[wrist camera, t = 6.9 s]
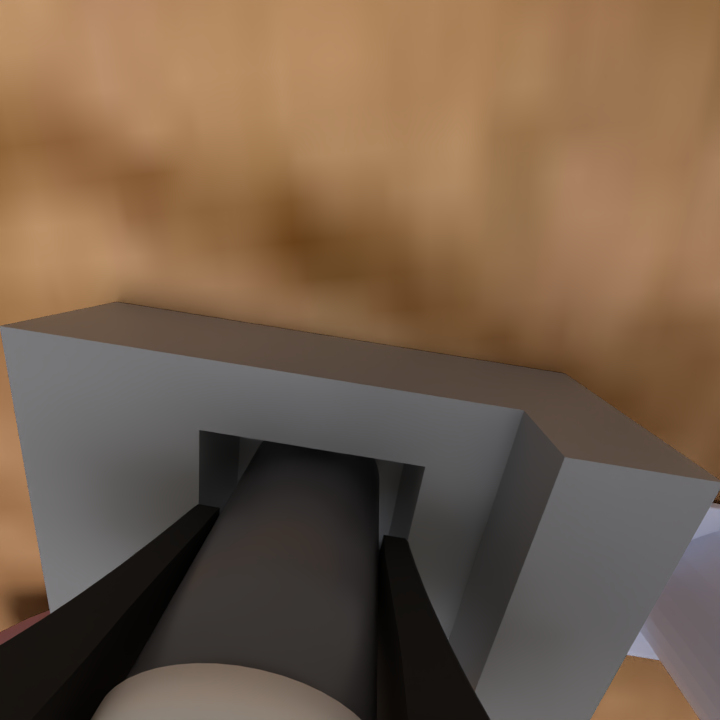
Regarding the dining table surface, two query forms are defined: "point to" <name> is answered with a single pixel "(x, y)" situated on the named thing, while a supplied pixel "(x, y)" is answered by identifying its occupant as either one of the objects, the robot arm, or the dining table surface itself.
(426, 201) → the dining table surface
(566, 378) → the camera body
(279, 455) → the lens
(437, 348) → the dining table surface
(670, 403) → the dining table surface
